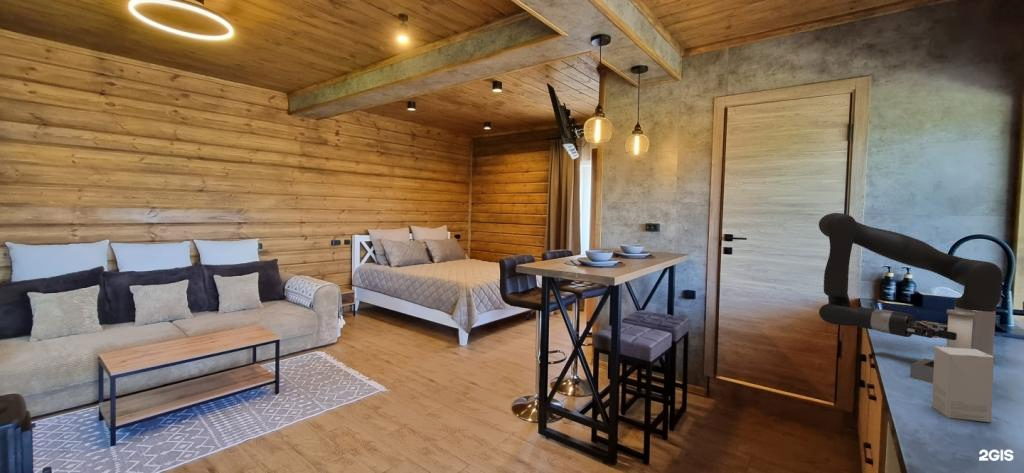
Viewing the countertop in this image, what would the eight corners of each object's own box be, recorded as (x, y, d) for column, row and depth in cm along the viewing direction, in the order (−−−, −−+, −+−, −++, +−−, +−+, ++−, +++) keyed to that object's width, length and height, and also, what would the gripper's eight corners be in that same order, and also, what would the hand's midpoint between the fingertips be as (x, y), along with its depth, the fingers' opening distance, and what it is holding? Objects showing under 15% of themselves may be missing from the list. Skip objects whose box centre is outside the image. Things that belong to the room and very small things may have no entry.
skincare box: (973, 411, 103) (977, 348, 102) (993, 424, 97) (997, 357, 96) (929, 406, 106) (933, 344, 105) (946, 418, 100) (950, 352, 99)
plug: (947, 366, 131) (950, 308, 130) (974, 372, 126) (978, 312, 124) (939, 369, 128) (943, 310, 127) (967, 376, 123) (971, 314, 122)
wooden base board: (938, 367, 134) (939, 351, 134) (989, 379, 124) (990, 362, 124) (908, 380, 123) (908, 363, 122) (961, 394, 113) (962, 376, 113)
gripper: (883, 313, 136) (953, 325, 122) (901, 309, 143) (970, 319, 129) (881, 336, 136) (952, 350, 122) (900, 331, 143) (969, 344, 129)
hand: (961, 334), depth 126 cm, fingers open, 8 cm apart
